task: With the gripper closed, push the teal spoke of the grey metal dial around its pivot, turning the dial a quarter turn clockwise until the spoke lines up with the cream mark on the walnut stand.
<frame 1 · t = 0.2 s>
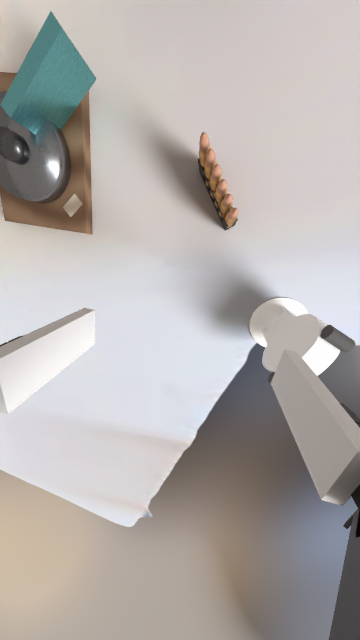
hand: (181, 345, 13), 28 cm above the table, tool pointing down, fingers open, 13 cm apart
dial: (30, 124, 29), point 6 cm above the table, hinge at 135.0°
ammunition clip: (217, 199, 34), on the table
stand: (46, 164, 36), on the table
panda figurine: (276, 324, 40), on the table
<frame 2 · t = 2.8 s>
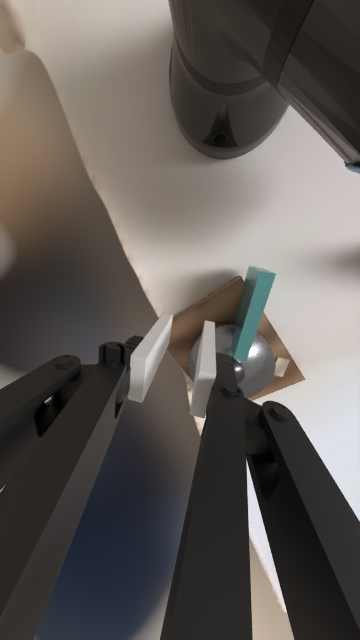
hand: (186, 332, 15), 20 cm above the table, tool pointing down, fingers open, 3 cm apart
dial: (237, 344, 29), point 6 cm above the table, hinge at 135.0°
stand: (227, 350, 36), on the table
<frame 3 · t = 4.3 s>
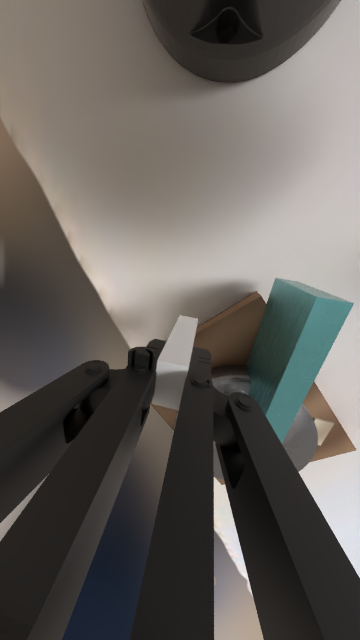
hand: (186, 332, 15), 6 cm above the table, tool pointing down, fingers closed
dial: (255, 411, 17), point 6 cm above the table, hinge at 135.0°
stand: (235, 399, 25), on the table
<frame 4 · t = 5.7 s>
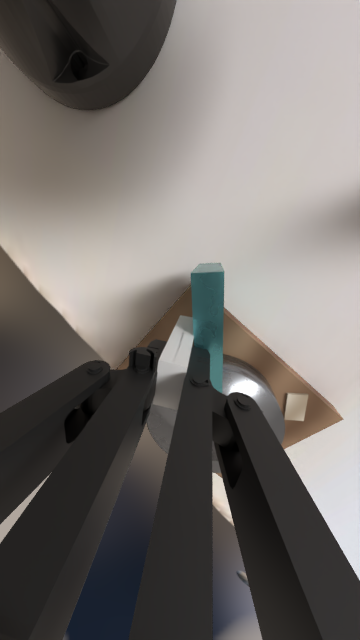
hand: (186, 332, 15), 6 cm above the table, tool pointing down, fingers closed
dial: (210, 395, 17), point 6 cm above the table, hinge at 133.8°, touching gripper
stand: (211, 389, 25), on the table
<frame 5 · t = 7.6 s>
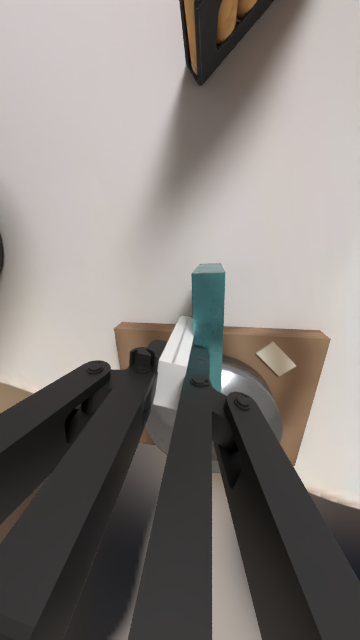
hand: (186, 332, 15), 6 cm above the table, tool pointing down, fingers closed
dial: (208, 396, 17), point 6 cm above the table, hinge at 91.4°, touching gripper
ammunition clip: (255, 2, 13), on the table
stand: (209, 389, 25), on the table
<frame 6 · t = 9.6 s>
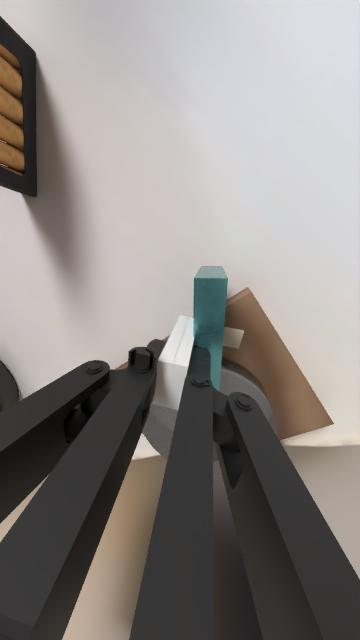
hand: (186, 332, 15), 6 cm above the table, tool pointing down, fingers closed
dial: (205, 398, 17), point 6 cm above the table, hinge at 54.4°, touching gripper
ammunition clip: (29, 131, 18), on the table
stand: (206, 391, 25), on the table
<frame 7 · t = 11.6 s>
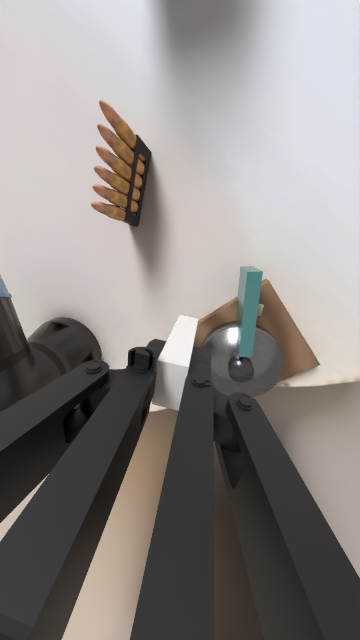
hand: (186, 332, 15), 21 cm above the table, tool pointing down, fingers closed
dial: (242, 342, 30), point 6 cm above the table, hinge at 54.4°
ammunition clip: (139, 190, 31), on the table
stand: (236, 349, 37), on the table
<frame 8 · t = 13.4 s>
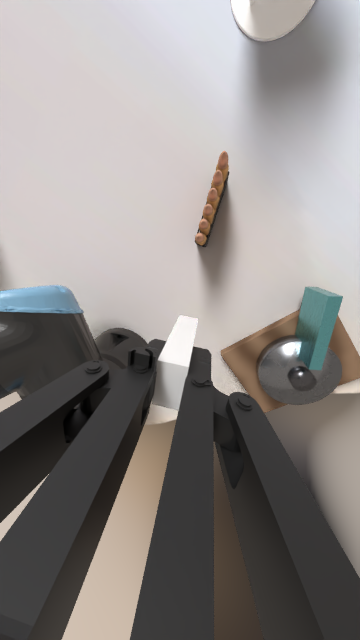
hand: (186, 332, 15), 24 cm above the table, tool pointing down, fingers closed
dial: (305, 355, 33), point 6 cm above the table, hinge at 54.4°
ammunition clip: (211, 214, 34), on the table
stand: (287, 359, 40), on the table
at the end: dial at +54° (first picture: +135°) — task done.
